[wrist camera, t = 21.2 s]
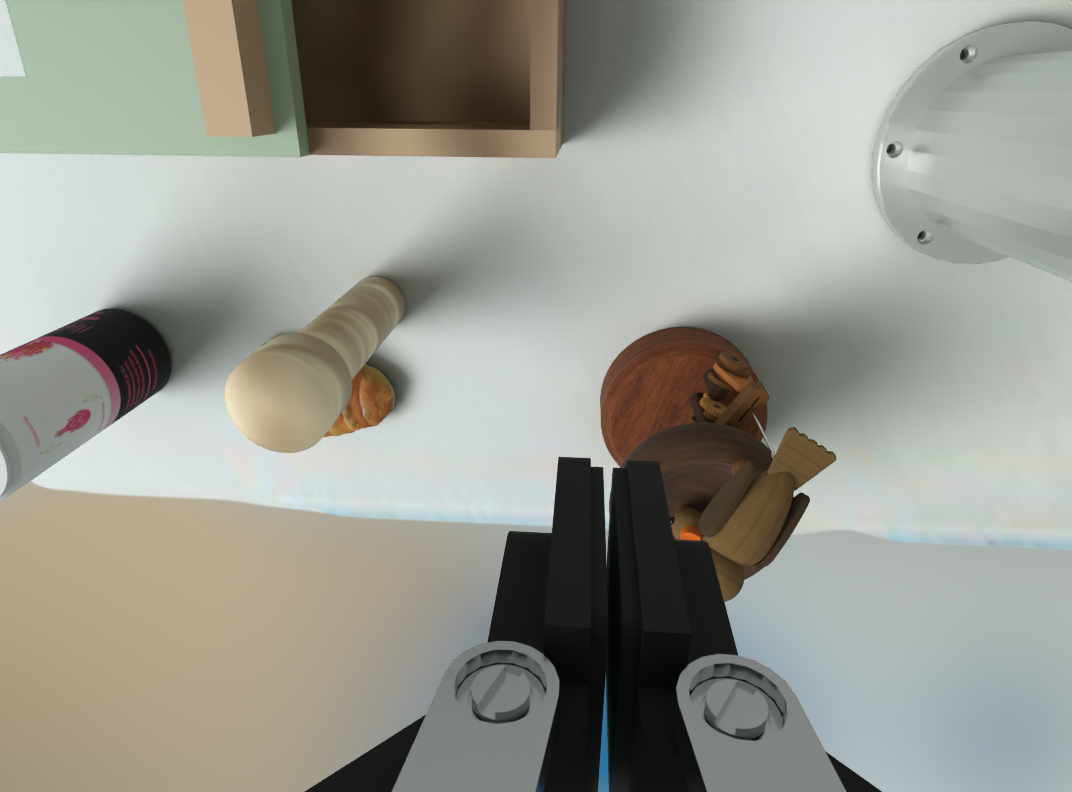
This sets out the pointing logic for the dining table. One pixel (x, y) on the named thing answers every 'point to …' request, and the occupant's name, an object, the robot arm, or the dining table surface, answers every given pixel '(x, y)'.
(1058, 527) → the dining table surface
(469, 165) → the dining table surface
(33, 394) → the beverage can
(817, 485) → the dining table surface
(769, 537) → the music box
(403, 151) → the wooden box
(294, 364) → the pin
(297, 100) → the green box lid
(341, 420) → the pastry
